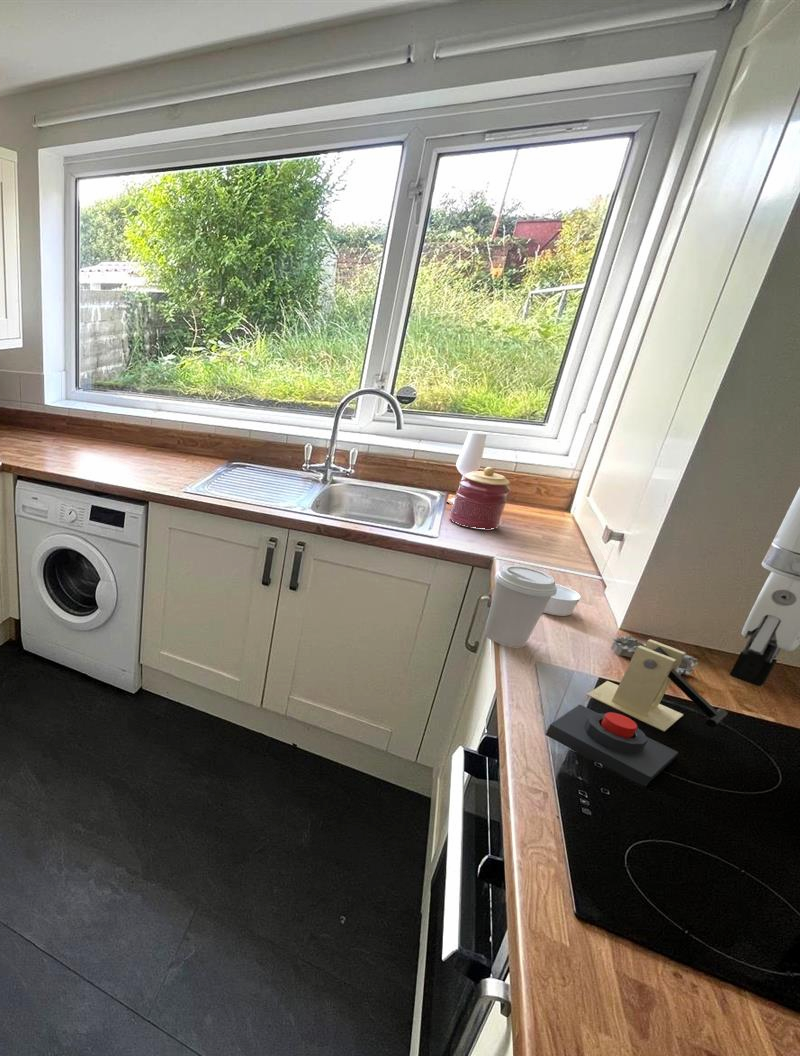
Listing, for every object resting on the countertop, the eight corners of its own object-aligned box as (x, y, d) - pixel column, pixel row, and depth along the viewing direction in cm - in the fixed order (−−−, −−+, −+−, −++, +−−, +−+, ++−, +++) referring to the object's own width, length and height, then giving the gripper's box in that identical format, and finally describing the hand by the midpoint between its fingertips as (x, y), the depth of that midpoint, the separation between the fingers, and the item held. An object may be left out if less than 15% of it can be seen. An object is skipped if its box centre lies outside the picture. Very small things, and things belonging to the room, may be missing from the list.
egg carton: (694, 680, 104) (705, 661, 102) (665, 686, 102) (676, 667, 100) (628, 647, 113) (636, 629, 112) (600, 652, 111) (609, 634, 109)
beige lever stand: (680, 720, 93) (714, 659, 89) (661, 737, 89) (695, 673, 85) (604, 686, 101) (631, 628, 96) (584, 700, 97) (611, 640, 93)
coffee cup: (463, 628, 118) (486, 562, 112) (511, 631, 118) (536, 564, 112) (493, 655, 109) (519, 584, 103) (544, 658, 109) (574, 587, 103)
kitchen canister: (442, 521, 176) (458, 465, 169) (455, 512, 185) (472, 458, 178) (491, 534, 168) (510, 476, 161) (503, 524, 176) (522, 468, 169)
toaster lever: (717, 719, 88) (734, 713, 87) (705, 729, 86) (723, 723, 84) (647, 651, 94) (662, 644, 92) (635, 659, 92) (650, 652, 90)
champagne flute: (464, 501, 196) (486, 431, 186) (470, 508, 190) (493, 435, 180) (442, 499, 197) (462, 429, 188) (448, 505, 191) (469, 433, 182)
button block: (672, 763, 84) (684, 742, 83) (644, 789, 79) (656, 767, 78) (574, 715, 94) (584, 694, 92) (545, 735, 89) (554, 714, 87)
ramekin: (528, 611, 125) (535, 594, 124) (520, 594, 133) (526, 577, 131) (579, 622, 122) (586, 603, 120) (567, 603, 129) (574, 586, 128)
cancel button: (636, 733, 84) (641, 723, 84) (626, 741, 83) (631, 732, 82) (606, 718, 87) (611, 709, 87) (596, 726, 86) (600, 716, 85)
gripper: (838, 587, 70) (768, 711, 77) (865, 562, 77) (799, 677, 84) (749, 564, 76) (692, 681, 83) (782, 543, 83) (727, 652, 90)
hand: (746, 679), depth 83 cm, fingers closed
